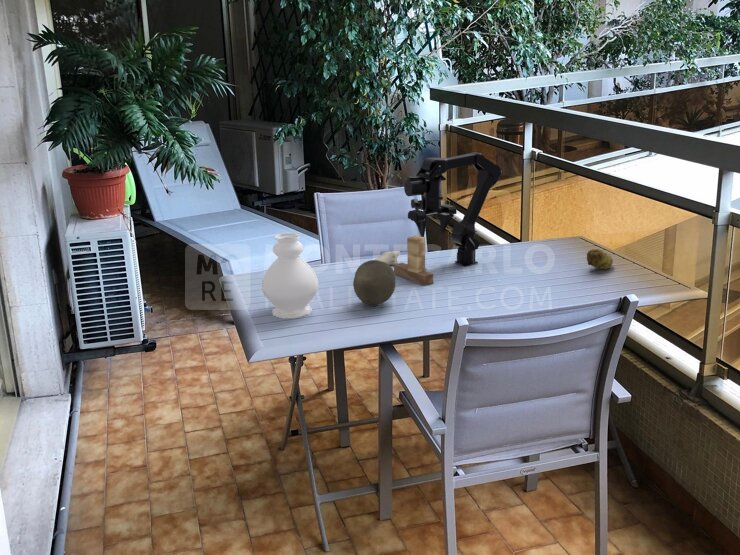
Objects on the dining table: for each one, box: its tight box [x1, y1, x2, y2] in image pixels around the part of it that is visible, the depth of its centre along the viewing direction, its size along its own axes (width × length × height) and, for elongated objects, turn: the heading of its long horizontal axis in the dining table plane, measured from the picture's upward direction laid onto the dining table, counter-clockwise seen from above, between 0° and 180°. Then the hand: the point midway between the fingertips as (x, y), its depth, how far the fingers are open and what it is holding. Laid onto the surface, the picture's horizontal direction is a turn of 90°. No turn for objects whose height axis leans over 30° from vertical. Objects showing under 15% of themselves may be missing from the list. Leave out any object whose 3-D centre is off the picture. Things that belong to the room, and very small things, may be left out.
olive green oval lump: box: [586, 248, 614, 270], centre depth 270 cm, size 8×13×8 cm, turn 116°
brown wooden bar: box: [393, 262, 434, 286], centre depth 265 cm, size 4×18×4 cm, turn 34°
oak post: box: [406, 235, 426, 273], centre depth 261 cm, size 4×4×12 cm
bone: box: [374, 250, 400, 266], centre depth 277 cm, size 8×21×6 cm, turn 142°
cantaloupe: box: [352, 259, 397, 307], centre depth 237 cm, size 14×14×15 cm
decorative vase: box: [261, 232, 319, 320], centre depth 232 cm, size 18×18×25 cm
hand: (432, 235), depth 271 cm, fingers open, 9 cm apart
